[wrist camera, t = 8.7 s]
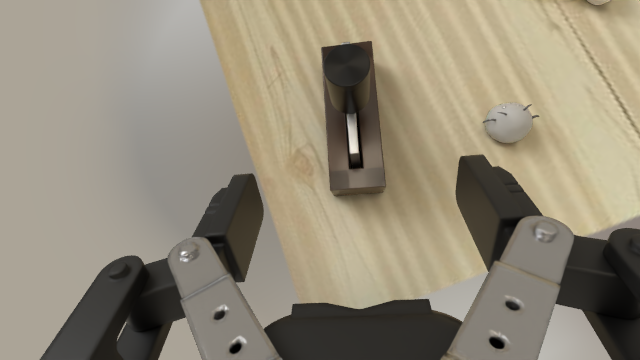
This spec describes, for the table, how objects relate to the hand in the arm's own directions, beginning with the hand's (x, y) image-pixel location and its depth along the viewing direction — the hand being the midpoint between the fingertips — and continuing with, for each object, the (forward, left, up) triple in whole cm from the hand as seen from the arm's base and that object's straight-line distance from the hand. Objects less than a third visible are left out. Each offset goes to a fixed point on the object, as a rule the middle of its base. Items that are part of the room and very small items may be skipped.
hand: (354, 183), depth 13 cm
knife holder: (-6, +4, -14) cm, 16 cm away
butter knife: (-6, +4, -14) cm, 16 cm away
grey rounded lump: (+2, +13, -14) cm, 19 cm away
